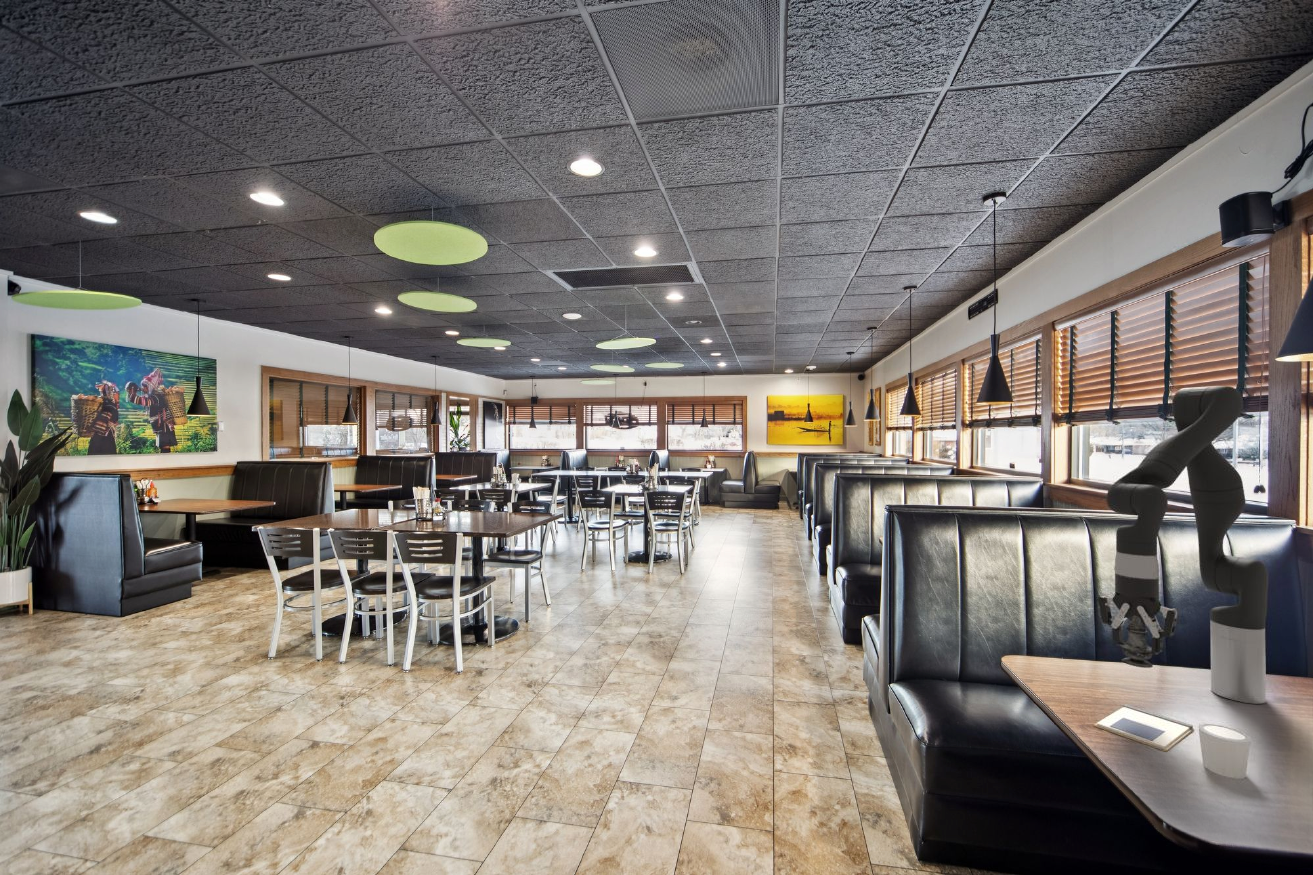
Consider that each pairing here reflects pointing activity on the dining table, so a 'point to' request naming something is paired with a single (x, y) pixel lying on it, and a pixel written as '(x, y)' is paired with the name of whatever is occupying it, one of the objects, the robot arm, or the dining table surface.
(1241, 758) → the shot glass
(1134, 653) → the dark grey chess bishop
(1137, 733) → the order pad
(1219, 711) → the dining table surface
